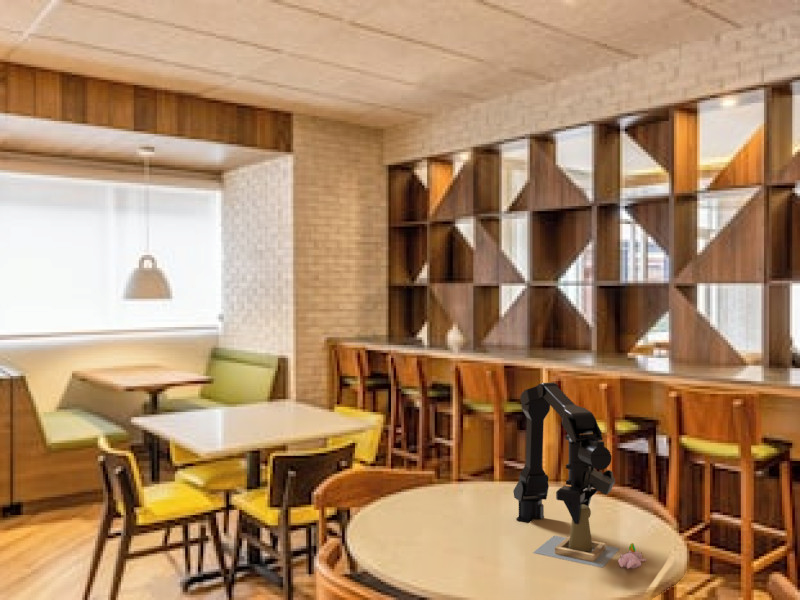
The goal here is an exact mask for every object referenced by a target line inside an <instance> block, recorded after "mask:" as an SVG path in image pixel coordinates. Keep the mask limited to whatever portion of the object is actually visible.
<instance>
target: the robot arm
mask: <svg viewBox="0 0 800 600" xmlns="http://www.w3.org/2000/svg"><path fill="white" fill-rule="evenodd" d="M519 398H520V403H521V410H522V412H523V413H524V415H525V417H526V432H525V433H526V436H525V437H526V438H525V465H524V466H523V468H522V469H521V471H520V473H519V475H518V476H519V477H518V478H519V479H518V481H517V483H516V485H515V487H514V488H513V490H512V491H513V498H514V499H515V500H517V501H518V516H517V517H516V519H515V520H516V521H519V522H520V521H521V522H525V523H531V522H532V521H534V520H542V519H545V515H544V513H545V512H544V505H545V504H543V500H547V497H548V493H549V488H550V487H549V486H550V485H549V476H548V474H547V473H546V472H545V470H544V469H543V453H544V452H543V448H544V446H543V445H544V426H545V425H544V421H545V419H546V417H547V416H548V414H549V412H550V411H551V408H552V409H553V410H554V411H555V413H557V414H558V415H559V417H561V425H562V427H563V429H564V430H565V432H566V435H565V437H564V439H565V440H566V441H568V442H567V443H568V462H567V463H566V464H565V469H567V470H568V478H567V479H566V480H565V485H563V486H561V487H560V488H558V489H557V490H556V491H555V494H556V495H555V499H556V500H557V501H562V502H563V504H564V505H565V507H566V508H567V511H568V513H569V515H570V517H571V520H572V519H573V521H574V523H575V524H579V520H580V514H581V507H582V504H584V505H587V506H588V507H589V508H590V503H591V500H592V497H593V496H594V495H596V493H598V492H600V493H601V494H602V495H608V494H609V493H611V492H612V489H613V487H614V485H615V484H616V478H615V477H614V472H613V471H612V470H609V469H607V468H608V467H610V464H611V462H612V454H611V452H610V450H609V448H607V447H606V446H605V442H604V441H602V440H603V435H602V434H603V433H602V430H601V428H600V427H599V424H598V421H597V419H596V417H595V415H594V414H593V412H592V411H590V410H588V409H587V408H586V407H582V406H579V405H577V404H575V403H574V402H573V401H572V400H571V399H570V398H569V397H568V396H567V395H566V394H565V393H564V392H563V391H562V390H561V389H560V388H559V385H558V384H557V383H555V382H542V383H538V384H537V385H536V386H533V387H530V388H527V389H526V388H525V389H524V390H523V391H522V392H521V394H520V397H519ZM598 470H599V471H598ZM602 470H605V471H604V472H602Z"/></svg>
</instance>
